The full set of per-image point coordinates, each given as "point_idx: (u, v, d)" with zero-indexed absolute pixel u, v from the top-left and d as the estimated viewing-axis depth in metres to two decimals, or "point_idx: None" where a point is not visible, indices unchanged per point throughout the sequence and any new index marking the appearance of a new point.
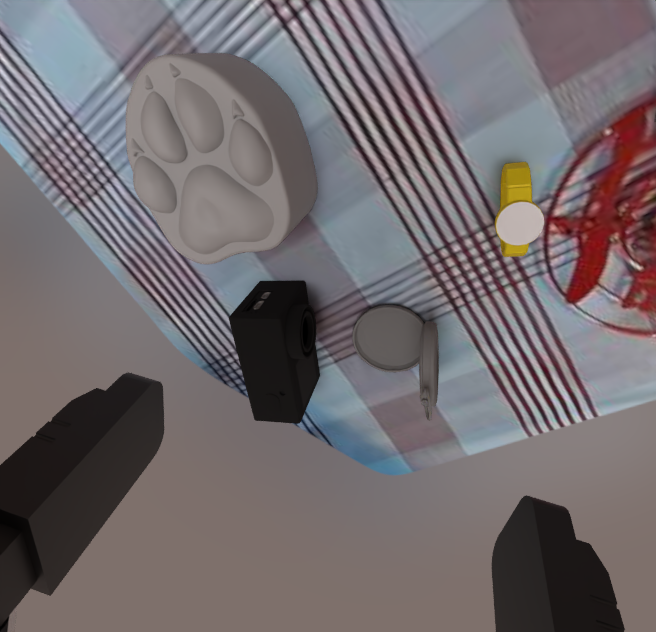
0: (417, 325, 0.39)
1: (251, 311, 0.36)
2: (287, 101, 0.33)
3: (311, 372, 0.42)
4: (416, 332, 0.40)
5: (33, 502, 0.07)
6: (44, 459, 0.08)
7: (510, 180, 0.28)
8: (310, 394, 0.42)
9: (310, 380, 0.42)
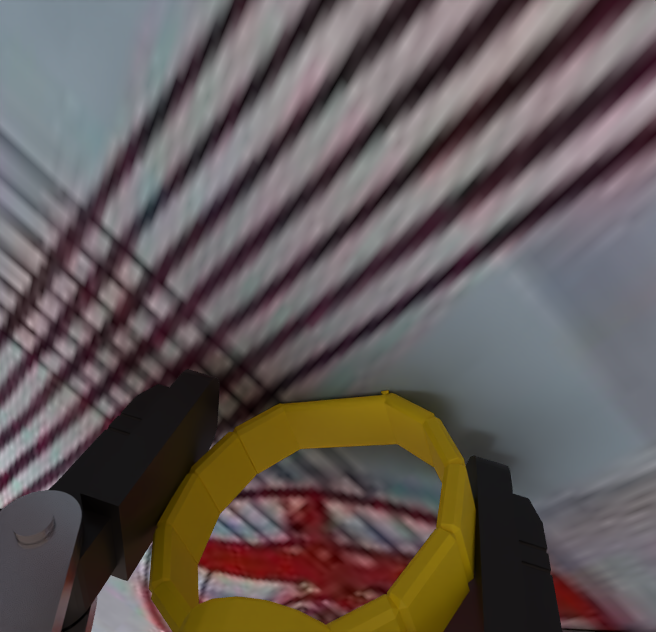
0: None
1: None
2: None
3: None
4: None
5: (120, 490, 0.07)
6: (124, 451, 0.08)
7: (425, 590, 0.06)
8: None
9: None
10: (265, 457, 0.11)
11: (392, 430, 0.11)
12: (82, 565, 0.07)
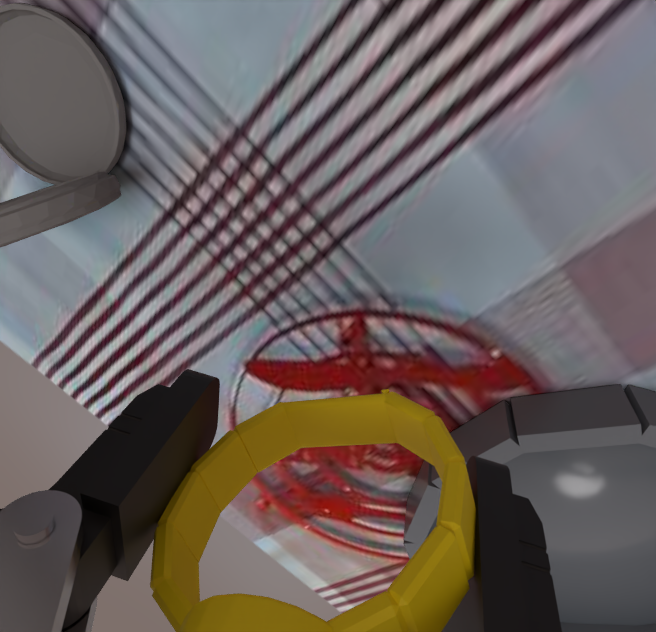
0: (105, 152, 0.20)
1: None
2: None
3: None
4: (92, 152, 0.20)
5: (121, 490, 0.07)
6: (124, 450, 0.08)
7: (426, 587, 0.07)
8: None
9: None
10: (266, 456, 0.11)
11: (392, 429, 0.11)
12: (82, 565, 0.07)
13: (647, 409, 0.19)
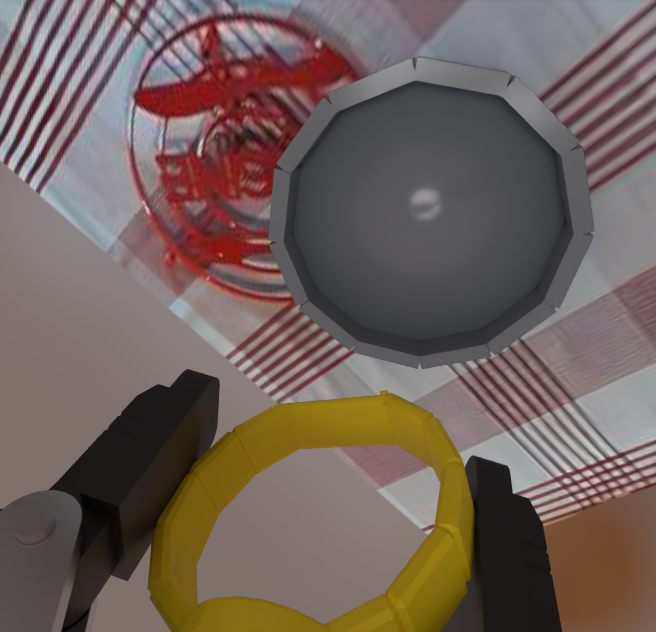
0: None
1: None
2: None
3: None
4: None
5: (121, 490, 0.07)
6: (124, 450, 0.08)
7: (424, 590, 0.07)
8: None
9: None
10: (264, 457, 0.11)
11: (391, 431, 0.11)
12: (82, 565, 0.07)
13: None
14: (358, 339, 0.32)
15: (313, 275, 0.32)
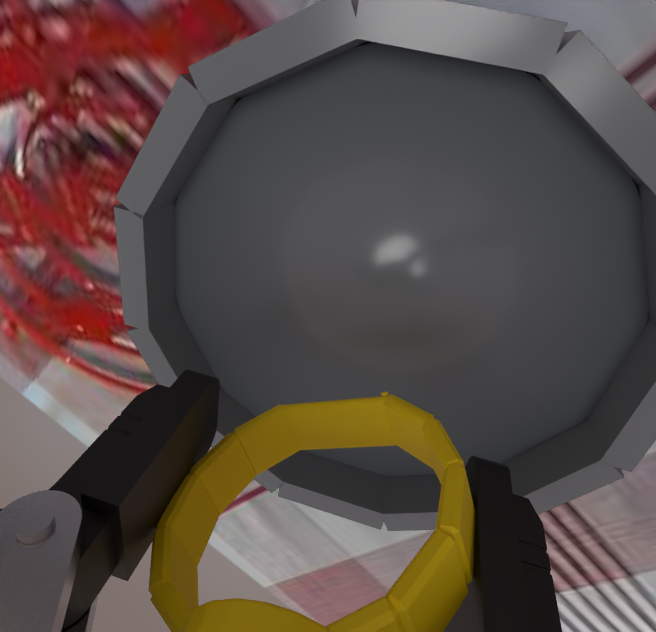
0: None
1: None
2: None
3: None
4: None
5: (121, 490, 0.07)
6: (124, 451, 0.08)
7: (425, 592, 0.07)
8: None
9: None
10: (265, 458, 0.11)
11: (392, 432, 0.11)
12: (82, 564, 0.07)
13: None
14: (286, 477, 0.19)
15: (216, 371, 0.20)
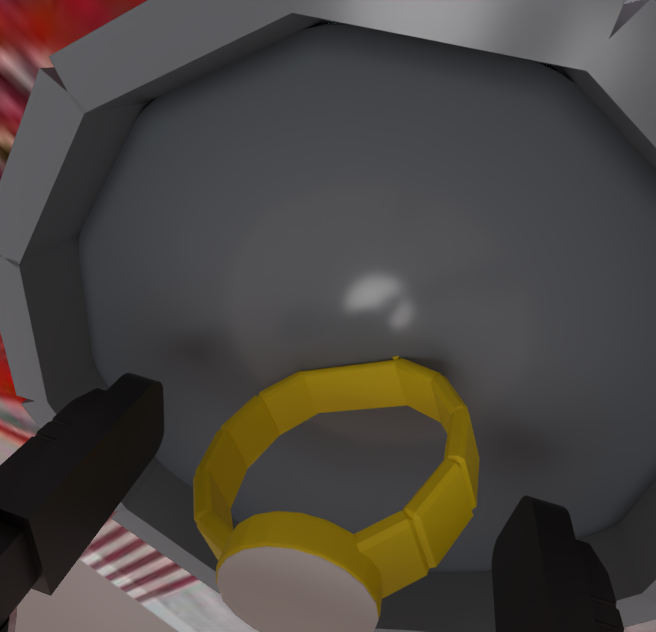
0: None
1: None
2: None
3: None
4: None
5: (33, 502, 0.07)
6: (44, 459, 0.08)
7: (436, 506, 0.08)
8: None
9: None
10: (287, 419, 0.12)
11: (402, 392, 0.12)
12: None
13: None
14: None
15: None
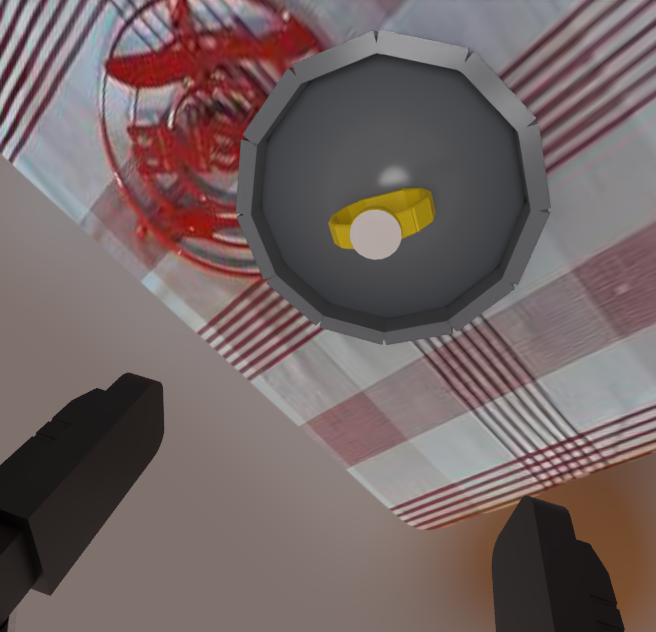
0: None
1: None
2: None
3: None
4: None
5: (33, 502, 0.07)
6: (44, 459, 0.08)
7: (419, 207, 0.24)
8: None
9: None
10: None
11: (406, 204, 0.28)
12: None
13: None
14: (325, 314, 0.32)
15: (282, 250, 0.32)
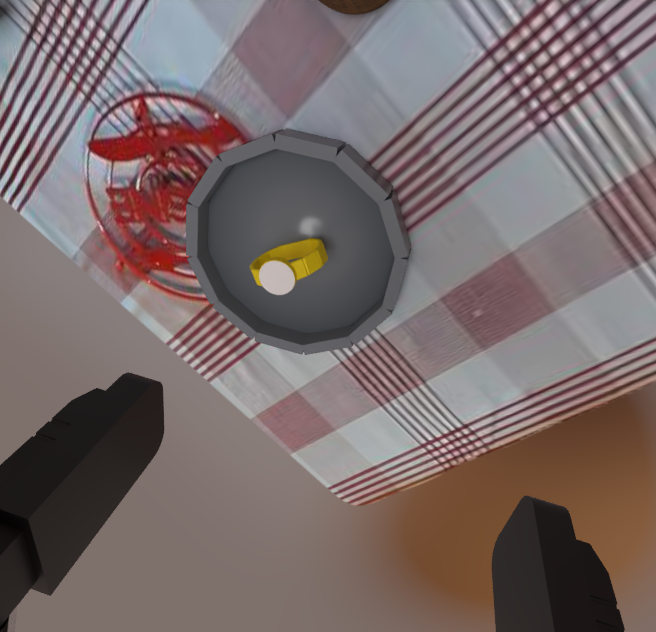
0: None
1: None
2: None
3: None
4: None
5: (33, 502, 0.07)
6: (44, 459, 0.08)
7: (308, 258, 0.34)
8: None
9: None
10: None
11: (312, 250, 0.38)
12: None
13: (283, 132, 0.33)
14: (258, 331, 0.41)
15: (225, 281, 0.42)
